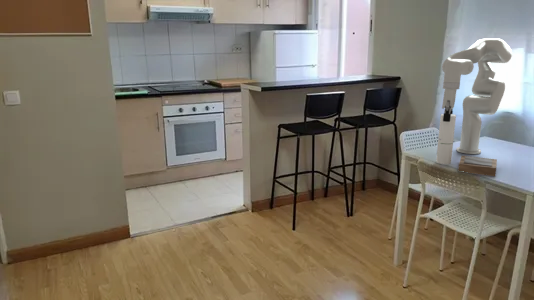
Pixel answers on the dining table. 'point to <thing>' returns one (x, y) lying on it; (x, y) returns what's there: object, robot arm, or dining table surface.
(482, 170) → the walnut base
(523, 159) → the dining table surface
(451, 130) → the cylindrical container
